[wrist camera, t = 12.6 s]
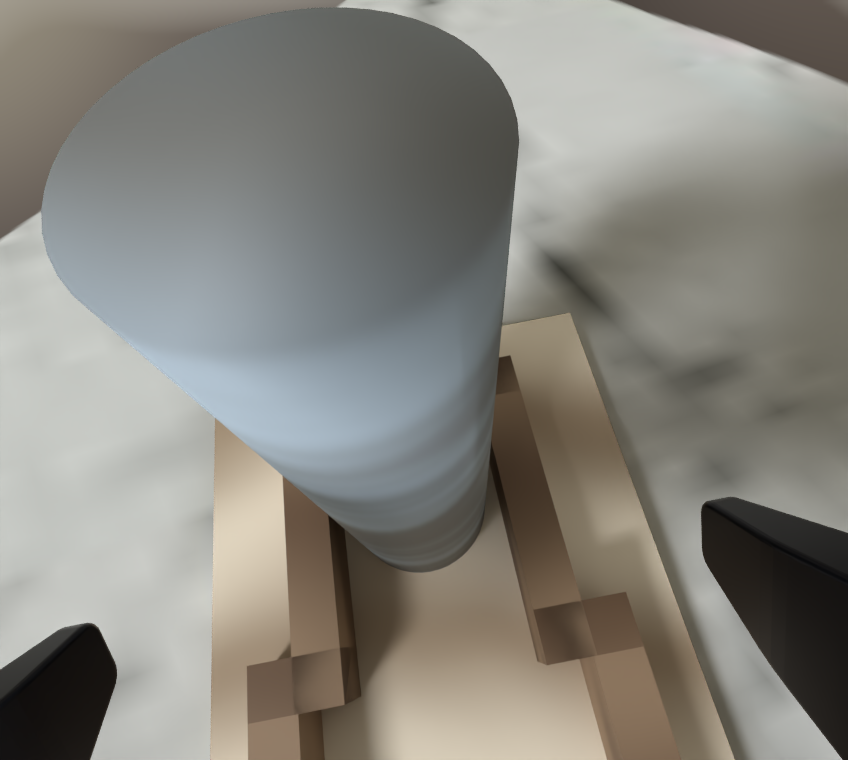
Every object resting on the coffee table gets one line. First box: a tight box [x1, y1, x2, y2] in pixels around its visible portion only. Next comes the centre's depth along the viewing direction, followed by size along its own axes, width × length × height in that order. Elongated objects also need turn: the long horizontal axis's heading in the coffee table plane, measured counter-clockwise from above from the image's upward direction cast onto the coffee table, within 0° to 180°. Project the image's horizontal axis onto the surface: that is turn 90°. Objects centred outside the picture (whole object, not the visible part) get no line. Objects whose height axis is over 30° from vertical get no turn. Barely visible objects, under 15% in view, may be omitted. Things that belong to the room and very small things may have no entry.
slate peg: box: [41, 8, 519, 573], centre depth 10 cm, size 4×4×13 cm
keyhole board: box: [210, 313, 735, 760], centre depth 14 cm, size 20×13×3 cm, turn 10°
